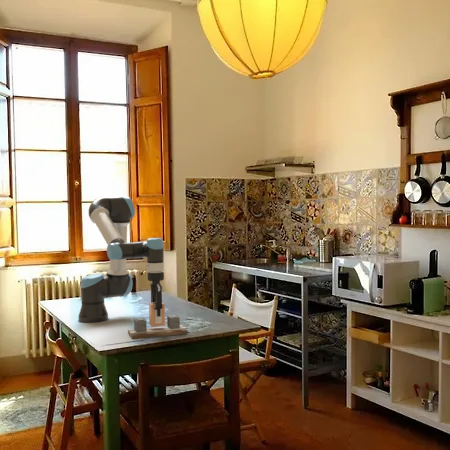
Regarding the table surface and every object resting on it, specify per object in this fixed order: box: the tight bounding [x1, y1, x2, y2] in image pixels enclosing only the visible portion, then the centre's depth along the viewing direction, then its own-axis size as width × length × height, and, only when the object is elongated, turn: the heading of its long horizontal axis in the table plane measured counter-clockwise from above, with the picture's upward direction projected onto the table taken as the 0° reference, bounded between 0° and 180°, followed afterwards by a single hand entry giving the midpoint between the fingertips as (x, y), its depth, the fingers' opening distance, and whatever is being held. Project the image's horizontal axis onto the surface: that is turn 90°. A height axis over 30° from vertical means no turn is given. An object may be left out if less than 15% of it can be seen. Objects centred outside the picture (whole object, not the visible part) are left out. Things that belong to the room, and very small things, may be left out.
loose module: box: [148, 301, 166, 328], centre depth 244 cm, size 6×6×10 cm
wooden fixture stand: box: [127, 314, 188, 340], centre depth 244 cm, size 12×25×7 cm, turn 109°
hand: (156, 321), depth 244 cm, fingers closed on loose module, 6 cm apart
